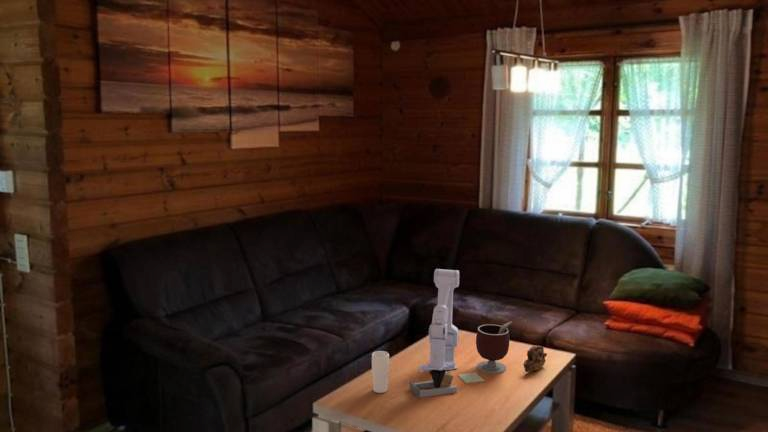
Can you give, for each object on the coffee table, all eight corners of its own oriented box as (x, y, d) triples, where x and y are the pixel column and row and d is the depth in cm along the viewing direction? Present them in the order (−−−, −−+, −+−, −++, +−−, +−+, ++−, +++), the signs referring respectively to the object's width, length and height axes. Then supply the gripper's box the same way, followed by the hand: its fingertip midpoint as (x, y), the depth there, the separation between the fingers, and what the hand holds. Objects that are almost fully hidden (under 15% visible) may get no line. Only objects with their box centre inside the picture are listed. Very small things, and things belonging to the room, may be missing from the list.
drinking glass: (391, 388, 246) (391, 352, 244) (385, 395, 240) (386, 358, 238) (374, 385, 249) (375, 349, 246) (368, 392, 242) (369, 355, 240)
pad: (457, 375, 259) (457, 374, 259) (475, 373, 262) (475, 372, 262) (466, 383, 252) (466, 382, 252) (484, 381, 254) (484, 380, 254)
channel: (409, 389, 246) (409, 381, 246) (448, 383, 251) (448, 376, 251) (417, 397, 239) (417, 389, 238) (456, 392, 244) (457, 384, 243)
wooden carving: (532, 377, 259) (533, 354, 257) (522, 374, 262) (523, 351, 260) (548, 365, 272) (549, 342, 270) (538, 362, 274) (539, 340, 273)
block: (435, 385, 247) (440, 370, 247) (444, 386, 249) (449, 372, 248) (439, 389, 244) (444, 374, 243) (448, 391, 245) (453, 376, 245)
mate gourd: (483, 376, 259) (485, 329, 256) (469, 363, 272) (471, 318, 269) (517, 372, 263) (519, 326, 260) (502, 359, 276) (504, 316, 273)
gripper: (423, 359, 237) (423, 393, 239) (458, 355, 242) (457, 389, 244) (416, 353, 244) (416, 386, 246) (451, 349, 248) (450, 381, 250)
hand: (436, 387), depth 245 cm, fingers closed
